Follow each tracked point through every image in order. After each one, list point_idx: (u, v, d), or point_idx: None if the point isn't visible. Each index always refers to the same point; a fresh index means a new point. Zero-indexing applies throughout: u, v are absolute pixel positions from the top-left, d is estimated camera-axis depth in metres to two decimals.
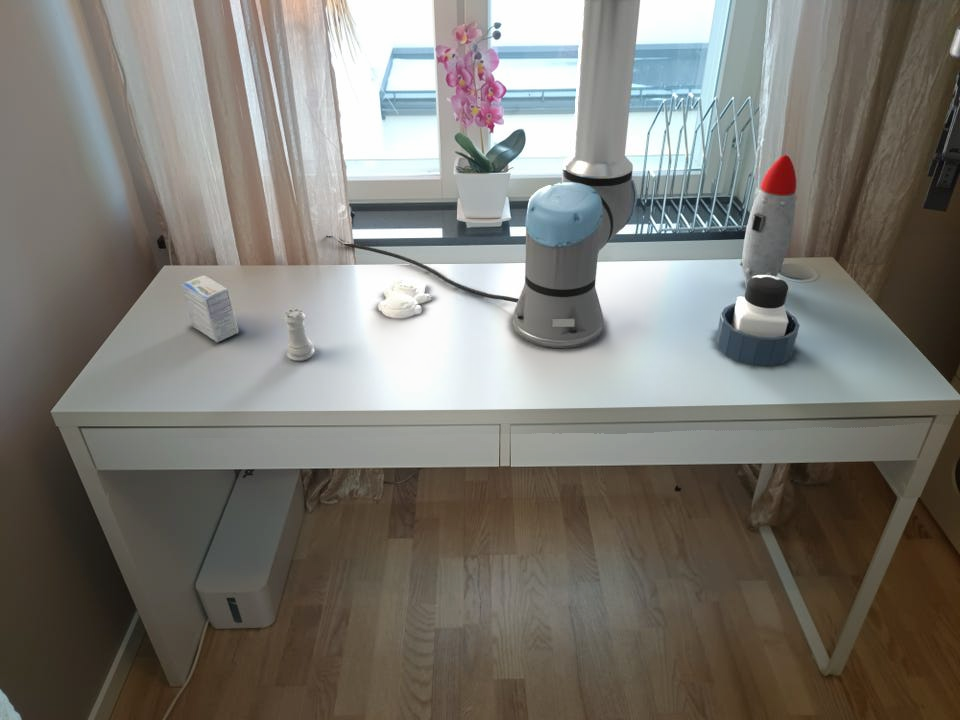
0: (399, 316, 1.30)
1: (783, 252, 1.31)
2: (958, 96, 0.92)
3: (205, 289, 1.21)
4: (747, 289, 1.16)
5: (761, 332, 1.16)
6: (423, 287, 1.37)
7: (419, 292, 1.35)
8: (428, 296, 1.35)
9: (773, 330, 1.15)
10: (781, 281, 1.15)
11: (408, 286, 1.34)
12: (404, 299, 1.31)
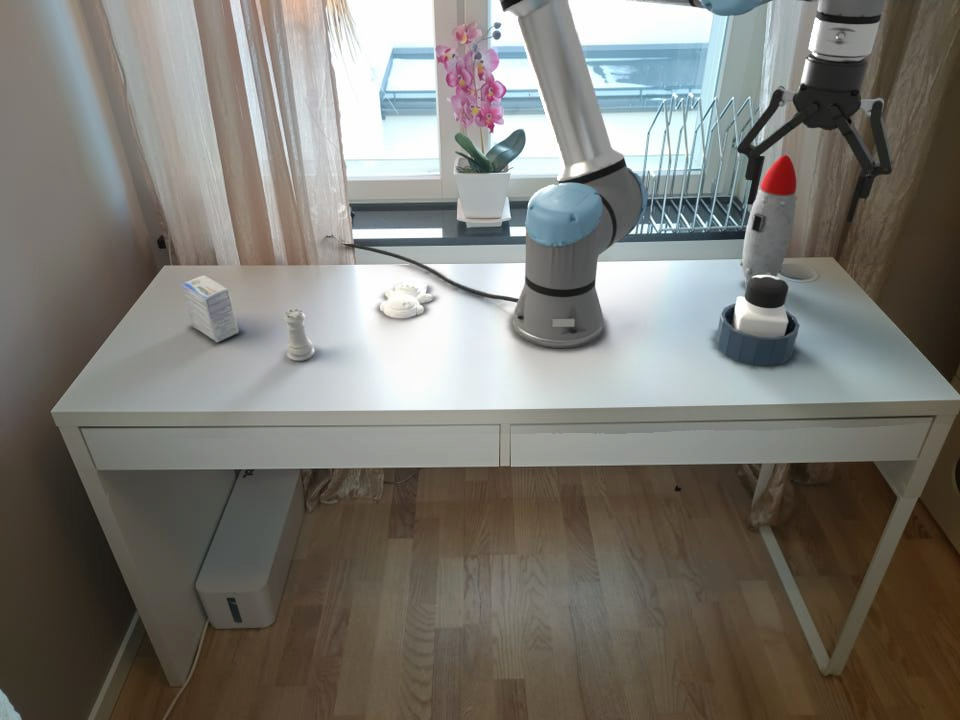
0: (401, 316, 1.30)
1: (783, 252, 1.31)
2: None
3: (205, 289, 1.21)
4: (747, 289, 1.16)
5: (761, 332, 1.16)
6: (424, 287, 1.37)
7: (421, 292, 1.35)
8: (430, 296, 1.35)
9: (773, 330, 1.15)
10: (781, 281, 1.15)
11: (409, 286, 1.34)
12: (406, 299, 1.31)
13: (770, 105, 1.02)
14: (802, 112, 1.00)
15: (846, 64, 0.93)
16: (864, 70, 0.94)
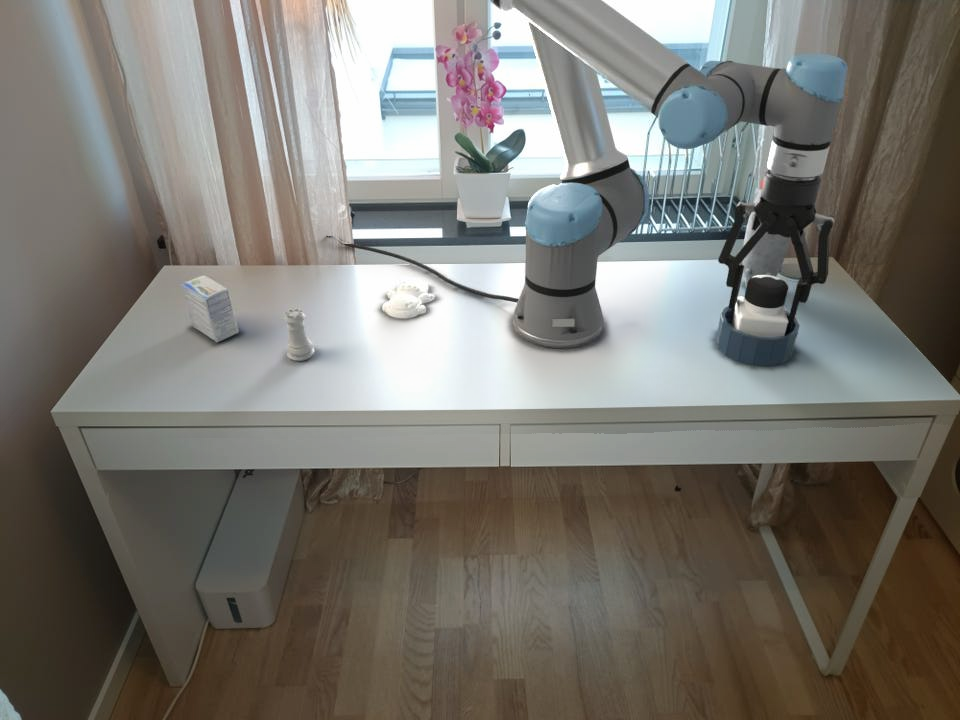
0: (404, 316, 1.30)
1: (783, 252, 1.31)
2: None
3: (205, 289, 1.21)
4: (747, 289, 1.16)
5: (761, 332, 1.16)
6: (426, 287, 1.37)
7: (422, 292, 1.35)
8: (432, 296, 1.35)
9: (773, 330, 1.15)
10: (781, 281, 1.15)
11: (411, 286, 1.34)
12: (409, 299, 1.31)
13: (736, 219, 1.11)
14: (764, 223, 1.09)
15: (799, 184, 1.02)
16: (817, 188, 1.04)
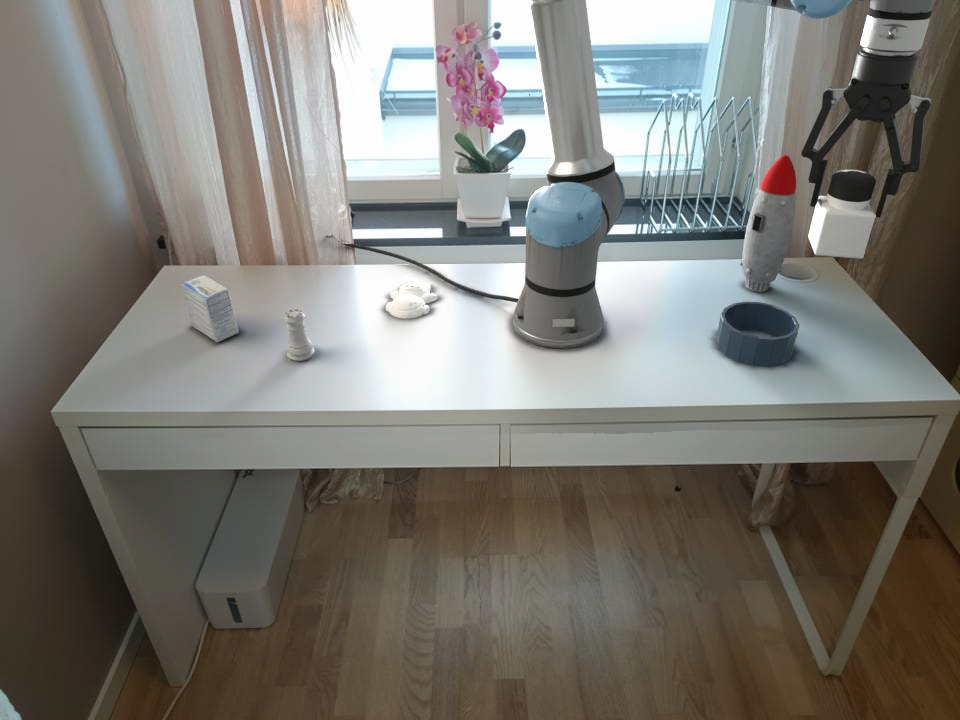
0: (408, 317, 1.30)
1: (783, 252, 1.31)
2: None
3: (205, 289, 1.21)
4: (832, 183, 1.11)
5: (847, 228, 1.11)
6: (429, 287, 1.37)
7: (425, 292, 1.35)
8: (435, 296, 1.35)
9: (859, 226, 1.10)
10: (868, 174, 1.10)
11: (414, 286, 1.34)
12: (412, 299, 1.31)
13: (823, 106, 1.06)
14: (854, 108, 1.04)
15: (897, 58, 0.97)
16: (915, 64, 0.99)
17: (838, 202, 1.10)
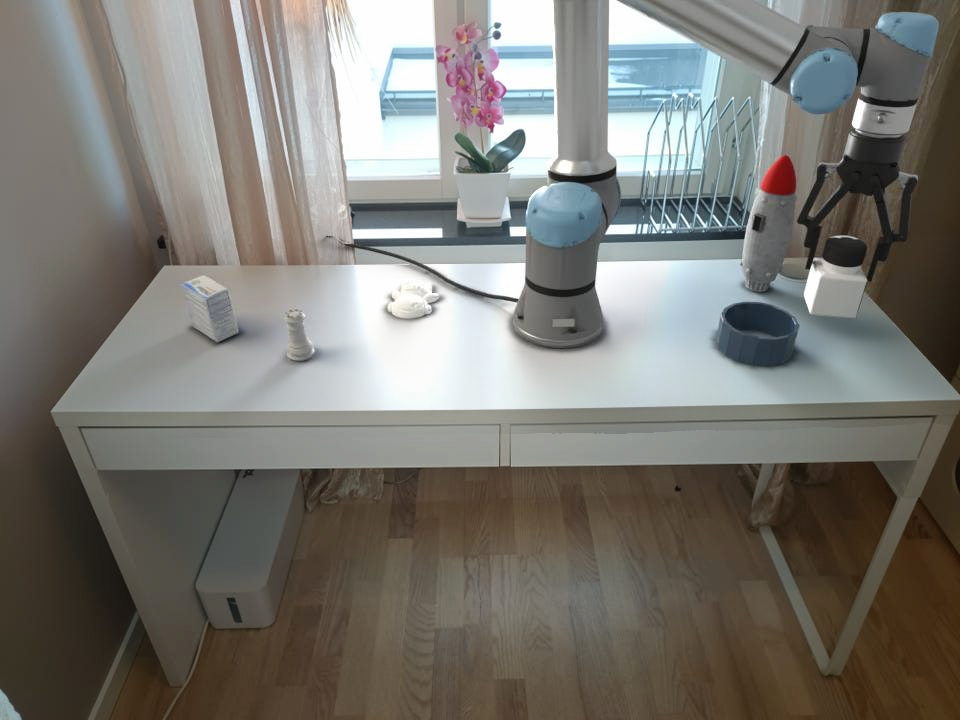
0: (410, 316, 1.30)
1: (783, 252, 1.31)
2: None
3: (205, 289, 1.21)
4: (826, 249, 1.18)
5: (840, 291, 1.18)
6: (430, 287, 1.37)
7: (427, 292, 1.35)
8: (436, 295, 1.35)
9: (851, 289, 1.17)
10: (860, 241, 1.17)
11: (416, 286, 1.34)
12: (414, 299, 1.31)
13: (817, 179, 1.13)
14: (846, 182, 1.11)
15: (886, 141, 1.04)
16: (902, 145, 1.06)
17: (832, 267, 1.17)
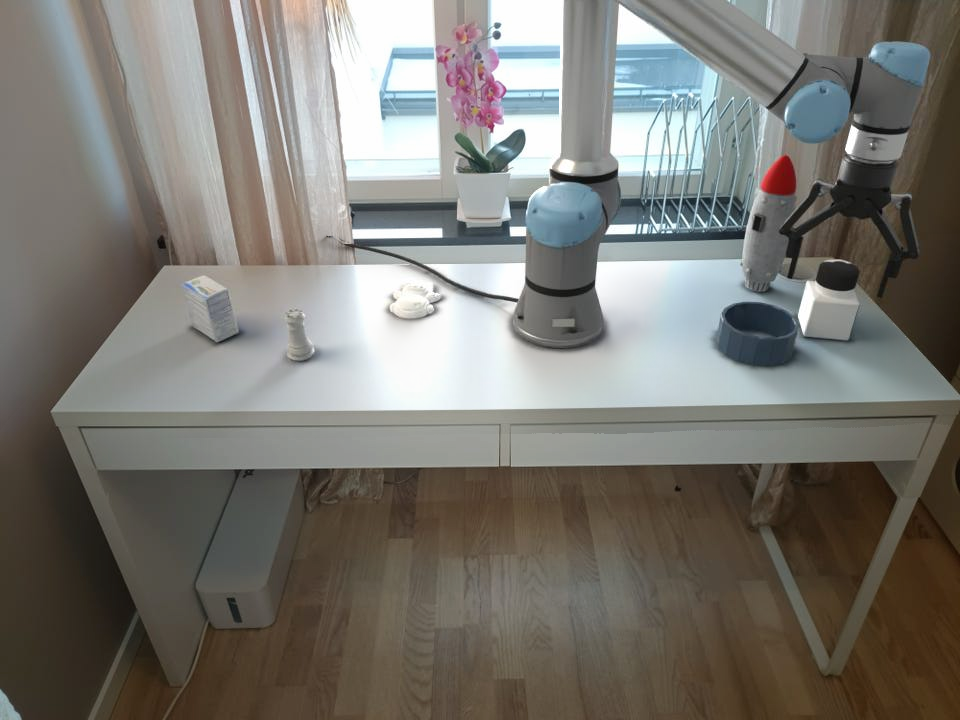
0: (413, 316, 1.30)
1: (783, 252, 1.31)
2: None
3: (205, 289, 1.21)
4: (819, 273, 1.20)
5: (833, 314, 1.20)
6: (432, 287, 1.37)
7: (429, 292, 1.35)
8: (438, 295, 1.35)
9: (844, 312, 1.20)
10: (852, 265, 1.19)
11: (418, 286, 1.34)
12: (417, 299, 1.31)
13: (810, 196, 1.15)
14: (839, 203, 1.13)
15: (879, 167, 1.07)
16: (894, 171, 1.08)
17: (825, 290, 1.19)
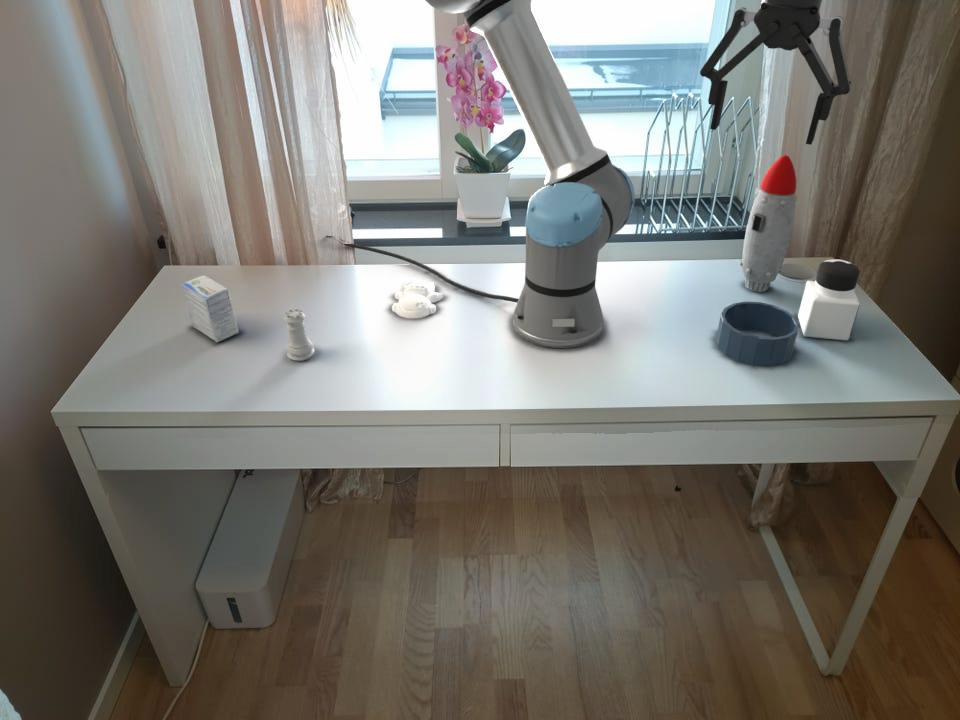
0: (415, 316, 1.30)
1: (783, 252, 1.31)
2: None
3: (205, 289, 1.21)
4: (819, 273, 1.20)
5: (833, 314, 1.20)
6: (433, 286, 1.37)
7: (430, 291, 1.35)
8: (440, 295, 1.35)
9: (844, 312, 1.20)
10: (852, 265, 1.19)
11: (419, 286, 1.34)
12: (419, 299, 1.31)
13: (732, 26, 1.03)
14: (763, 32, 1.01)
15: None
16: None
17: (825, 290, 1.19)
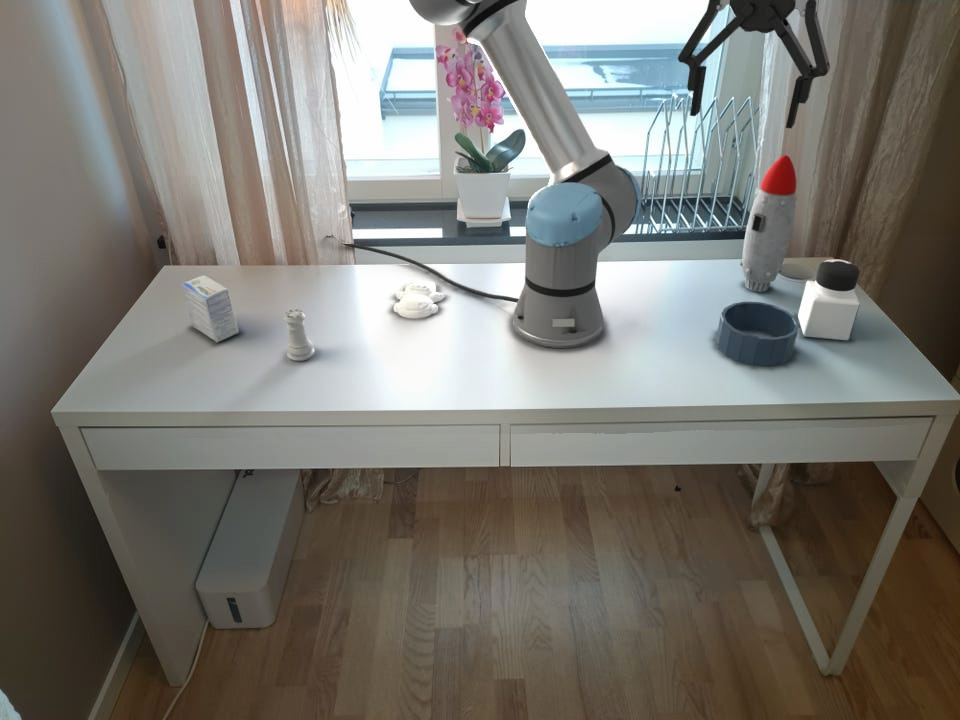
0: (417, 316, 1.30)
1: (783, 252, 1.31)
2: None
3: (205, 289, 1.21)
4: (819, 273, 1.20)
5: (833, 314, 1.20)
6: (434, 286, 1.37)
7: (432, 291, 1.35)
8: (441, 295, 1.35)
9: (844, 312, 1.20)
10: (852, 265, 1.19)
11: (421, 286, 1.34)
12: (421, 299, 1.31)
13: (708, 10, 1.02)
14: (738, 15, 1.00)
15: None
16: None
17: (825, 290, 1.19)
